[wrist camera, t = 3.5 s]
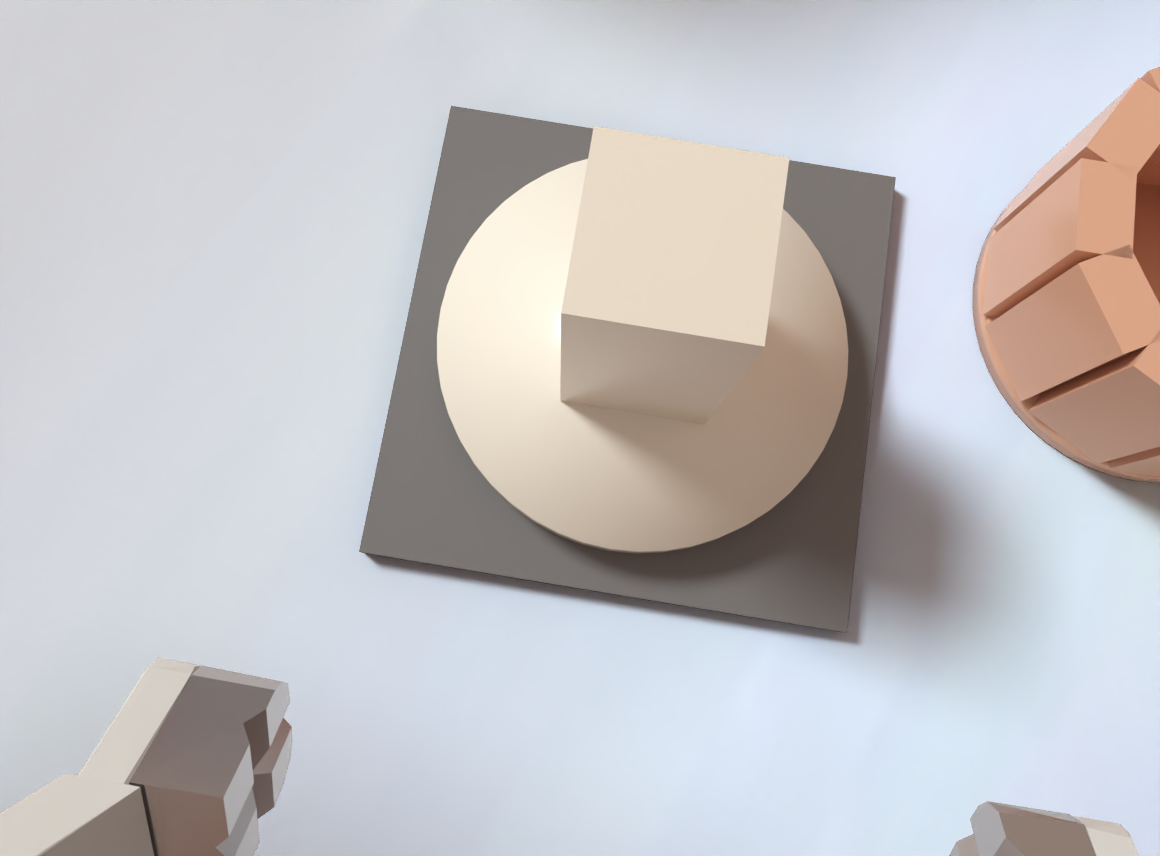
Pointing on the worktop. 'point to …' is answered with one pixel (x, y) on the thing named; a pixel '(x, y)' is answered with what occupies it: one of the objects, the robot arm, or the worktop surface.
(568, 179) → the lid
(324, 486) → the worktop surface
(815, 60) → the worktop surface
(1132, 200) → the bowl
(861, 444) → the rubber mat
